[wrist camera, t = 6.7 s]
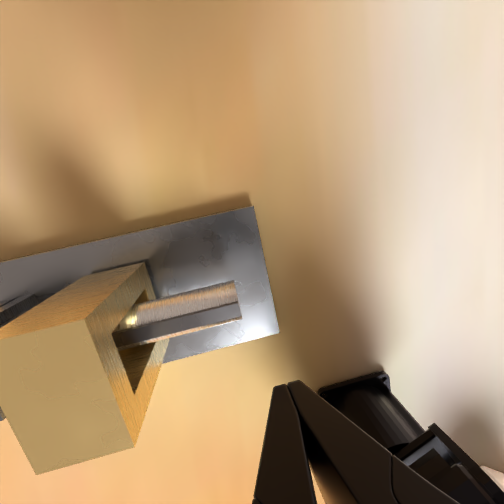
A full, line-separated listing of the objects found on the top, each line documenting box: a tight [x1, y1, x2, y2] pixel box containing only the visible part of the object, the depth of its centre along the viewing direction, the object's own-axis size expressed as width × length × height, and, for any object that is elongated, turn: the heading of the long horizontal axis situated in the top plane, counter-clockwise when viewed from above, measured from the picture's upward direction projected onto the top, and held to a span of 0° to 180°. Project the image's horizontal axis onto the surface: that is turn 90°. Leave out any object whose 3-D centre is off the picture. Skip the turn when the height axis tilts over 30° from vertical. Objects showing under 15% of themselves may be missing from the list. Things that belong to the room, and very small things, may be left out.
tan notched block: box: [0, 262, 169, 475], centre depth 15 cm, size 4×6×8 cm, turn 12°
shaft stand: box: [0, 205, 280, 421], centre depth 17 cm, size 18×10×6 cm, turn 102°
